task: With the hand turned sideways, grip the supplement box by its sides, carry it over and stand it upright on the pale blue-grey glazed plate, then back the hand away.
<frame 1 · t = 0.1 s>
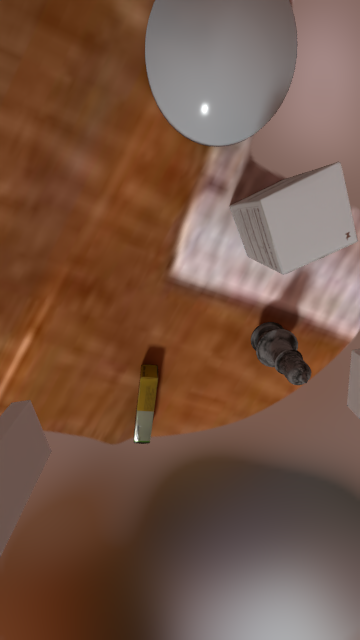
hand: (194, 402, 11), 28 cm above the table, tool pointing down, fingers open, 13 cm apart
medication box: (146, 395, 45), on the table
supplement box: (262, 220, 36), on the table
plate: (220, 61, 30), on the table
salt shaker: (267, 337, 42), on the table
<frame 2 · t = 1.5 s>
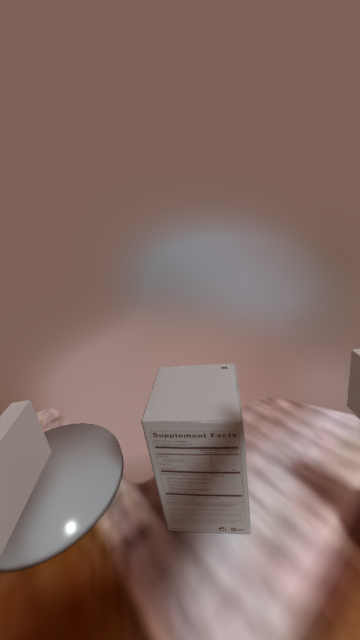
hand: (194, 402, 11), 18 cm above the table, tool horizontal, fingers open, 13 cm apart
supplement box: (209, 495, 27), on the table
plate: (51, 483, 30), on the table
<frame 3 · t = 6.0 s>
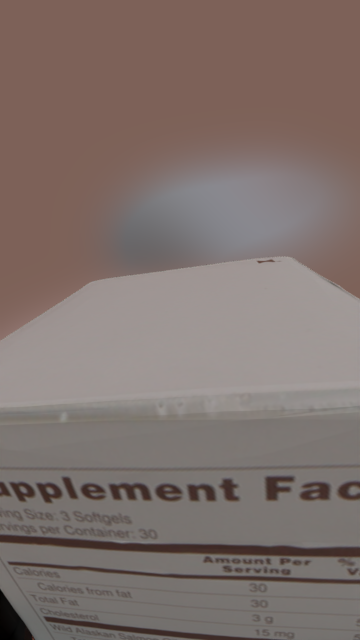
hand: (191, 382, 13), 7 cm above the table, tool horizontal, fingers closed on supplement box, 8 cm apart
supplement box: (225, 604, 11), on the table, touching gripper
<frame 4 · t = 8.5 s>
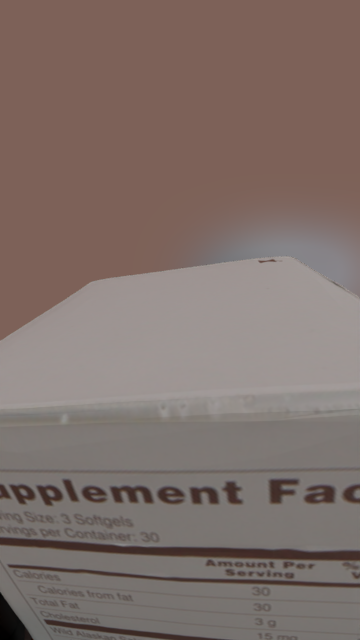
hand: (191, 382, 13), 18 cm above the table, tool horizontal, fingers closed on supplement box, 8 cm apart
supplement box: (226, 605, 11), point 11 cm above the table, touching gripper
when the fingers open (9 cm above the table, at t = 10.8 s): supplement box drops 1 cm, resting on plate.
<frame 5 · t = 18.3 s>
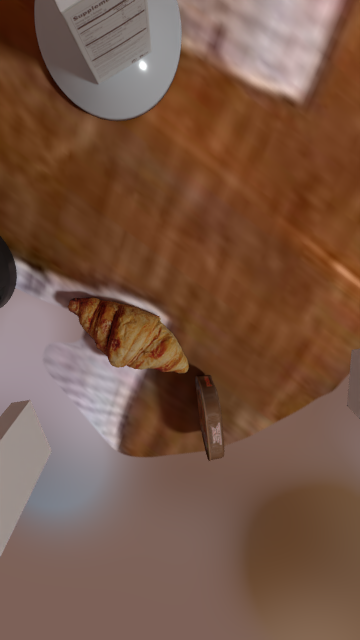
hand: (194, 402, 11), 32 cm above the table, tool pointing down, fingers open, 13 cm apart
supplement box: (109, 35, 31), point 1 cm above the table, touching plate
tin: (205, 400, 50), on the table
plate: (111, 37, 31), on the table
croissant: (133, 333, 45), on the table
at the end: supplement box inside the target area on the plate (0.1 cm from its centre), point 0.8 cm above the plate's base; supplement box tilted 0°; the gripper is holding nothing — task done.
